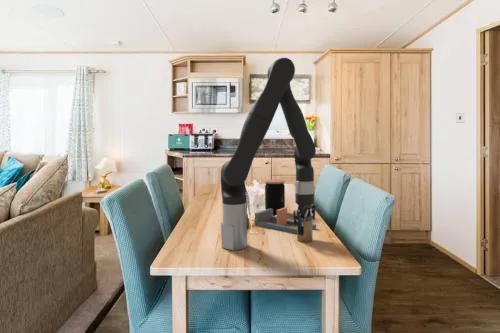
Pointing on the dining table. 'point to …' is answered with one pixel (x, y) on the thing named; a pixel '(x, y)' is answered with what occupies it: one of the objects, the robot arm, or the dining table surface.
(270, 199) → the coffee jar
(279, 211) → the plate
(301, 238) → the spice jar
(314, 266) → the dining table surface
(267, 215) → the lane
